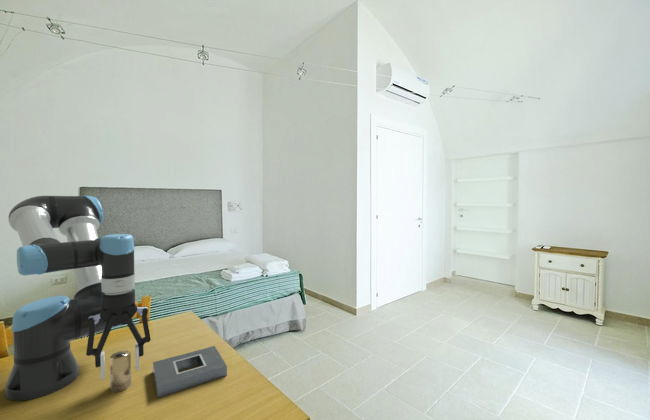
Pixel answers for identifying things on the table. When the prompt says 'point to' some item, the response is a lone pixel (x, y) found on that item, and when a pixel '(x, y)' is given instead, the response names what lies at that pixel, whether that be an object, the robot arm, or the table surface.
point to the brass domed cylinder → (120, 371)
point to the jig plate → (174, 381)
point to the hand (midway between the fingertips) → (120, 372)
